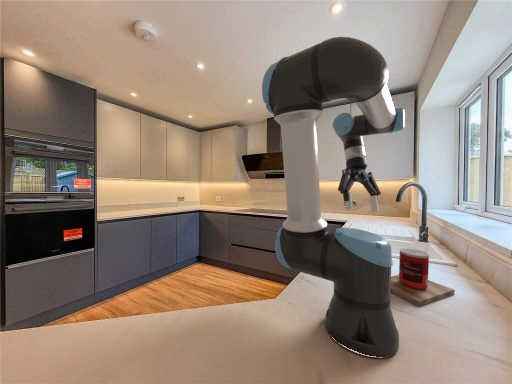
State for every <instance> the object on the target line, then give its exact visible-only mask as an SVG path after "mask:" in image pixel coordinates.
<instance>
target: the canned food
mask: <svg viewBox="0 0 512 384" xmlns="http://www.w3.org/2000/svg"><path fill="white" fill-rule="evenodd" d="M429 261H430V257H429V253H428V252H425V251H424V250H423V251H422V250H419V249H413V248H401V249H399V264H398V266H399V267H398V275H399V281H400V283H401V284H402V285H404V286H406V287H408V288H411V289H415V290H425V289H427V287H428V280H429V267H430V265H429V264H430V262H429Z"/></svg>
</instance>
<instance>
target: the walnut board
mask: <svg viewBox="0 0 512 384" xmlns="http://www.w3.org/2000/svg"><path fill="white" fill-rule="evenodd" d="M455 290H456V289H454V288H451V287H449V286H446V285H444V284H440V283H437V282H434V281H433V280H432V281H431V280H429V279H428V287H427V289H425V290H415V289H411V288H408V287H406V286H404V285H402V284H401V283H400V281H399V274H396V275H391V294H393V295H395V296H396V297H400V298H401V299H403V300H406V301H407V302H409V303H412V304H414V305H415V306H418V307H423V306H425V305H428V304H431V303H433V302H434V303H435V302H437V301H439V300H443V299H446V298H448V297H451V296H454V295H455V292H456V291H455Z"/></svg>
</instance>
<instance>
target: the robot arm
mask: <svg viewBox="0 0 512 384" xmlns="http://www.w3.org/2000/svg"><path fill="white" fill-rule="evenodd" d="M389 75H390V73H389V68H388V64H387V61H386V60H385V57H384V56H383V55H382V53H381V52H380V51H379V50H378V49H377V48H375V46H372V45H371V44H370V43H367V42H365V41H363V40H360V39H359V38H355V37H349V36H336V37H335V36H334V37H331V38H327V39H325V40H322V42H320V43H316V44H314V45H312V46H310V47H307V48H305V49H303V50H301V51H298V52H295V53H294V54H291V55H289V56H284V57H282V58H280V59H279V60H278V61H276V62H274V63H273V64H270V66H269V67H268V68H267V69H266V71H265V73H264V75H263V78H262V83H261V95H262V96H261V97H262V100H263V103H264V104H265V108H266V109H267V111H268V113H271V114H272V115H273V119H274V121H276V122H277V123H278V125H280V132H281V146H282V160H283V161H282V162H283V172H284V173H283V174H284V186H285V187H284V188H285V189H284V190H285V201H286V215H287V218H286V219H285V220H284V221H283V222H282V226H281V227H280V228H279V229H278V231H277V233H276V235H275V236H276V239H275V241H274V250H275V254H276V259H277V260H278V262H279V263H280V265H282V266H283V267H285V268H286V269H290V270H292V271H294V272H297V273H302V274H306V275H309V276H313V277H315V278H316V277H317V278H318V279H319V278H320V279H323V280H326V281H329V282H333V295H332V297H331V300H330V302H329V304H328V308H327V310H326V313H325V321H324V323H325V325H324V326H326V327H325V330H326V329H327V330H326V332H327V331H328V332H327V334H328V333H329V334H330V335H331V336H332V337H333V338H334V339H335V340H336V341H337V342H339V343H340V344H342V345H344V346H346V347H347V348H349V349H352V350H354V351H357V352H359V353H362V354H365V355H369V356H376V357H387V356H391V357H393V356H394V355H396V354H395V353H398V351H399V348H400V334H399V331H398V328H397V325H396V322H395V318H394V315H393V312H392V308H391V294H392V293H391V277H392V266H393V264H394V261H393V256H392V245H391V244H390V242H389V241H388V240H387V239H386V238H385V237H383V236H380V235H379V234H377V233H373V232H370V231H367V230H364V229H358V228H354V227H353V228H351V227H338V228H336V229H335V231H334V232H332V231H329V230H328V229H329V228H328V222H327V221H326V220H325V219H324V218H323V217H322V215H321V214H322V213H321V210H322V209H321V191H320V190H321V189H320V188H321V187H320V169H319V168H320V167H319V149H318V148H319V147H318V127H317V126H318V124H317V121H318V120H319V118H321V116H322V115H323V112H324V110H323V109H324V106H323V104H326V103H328V102H329V103H330V102H333V101H336V100H342V99H346V100H348V101H349V102H352V103H355V104H356V106H357V107H358V109H359V110H360V111H361V113H362V114H359V115H352V114H351V113H349V112H341V113H339V114H338V115H337V116H336V117H334V119H333V122H332V128H333V130H334V133H335V134H336V135H337V136H338V137H339V138H340V140H341V142H342V144H343V150H344V151H343V152H344V156H345V166H346V168H344V169H342V171H341V173H342V174H341V178H340V181H339V185H338V188H337V191H338V192H340V194H341V195H342V196H343V201H344V206H345V211H347V212H349V211H353V210H354V205H353V196H352V192H351V191H350V190H351V189H352V187H353V185H354V184H355V183H356V182H357V183H360V184H361V185H363V187H364V189H365V190H366V191H367V193H368V194H369V195H370V196H369V201H370V210H371V214H374V213H375V214H376V213H379V212H380V207H379V198H378V196H380V195H381V194H382V192H381V189H380V188H379V186H378V185H377V182H376V180H375V178H374V177H373V176H374V175H373V172H372V171H369V172H367V170H366V169H367V167H368V162H367V158H366V156H367V154H366V150H365V144H364V139H363V137H365V136H371V135H372V136H373V135H380V134H382V135H383V134H389V133H391V134H392V133H395V132H396V133H397V132H400V131H403V130H404V129H405V124H406V121H405V120H406V119H405V118H406V114H405V113H406V112H405V111H406V110H405V109H404V107H397V108H396V107H395V106H394V102H393V101H392V97H391V93H390V91H389V87H388V85H387V83H388V79H389V78H390V77H389ZM349 191H350V192H349ZM329 334H328V335H329ZM330 335H329V336H330ZM331 336H330V337H331ZM337 342H336V343H337ZM393 354H394V355H393ZM392 355H393V356H392Z"/></svg>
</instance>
